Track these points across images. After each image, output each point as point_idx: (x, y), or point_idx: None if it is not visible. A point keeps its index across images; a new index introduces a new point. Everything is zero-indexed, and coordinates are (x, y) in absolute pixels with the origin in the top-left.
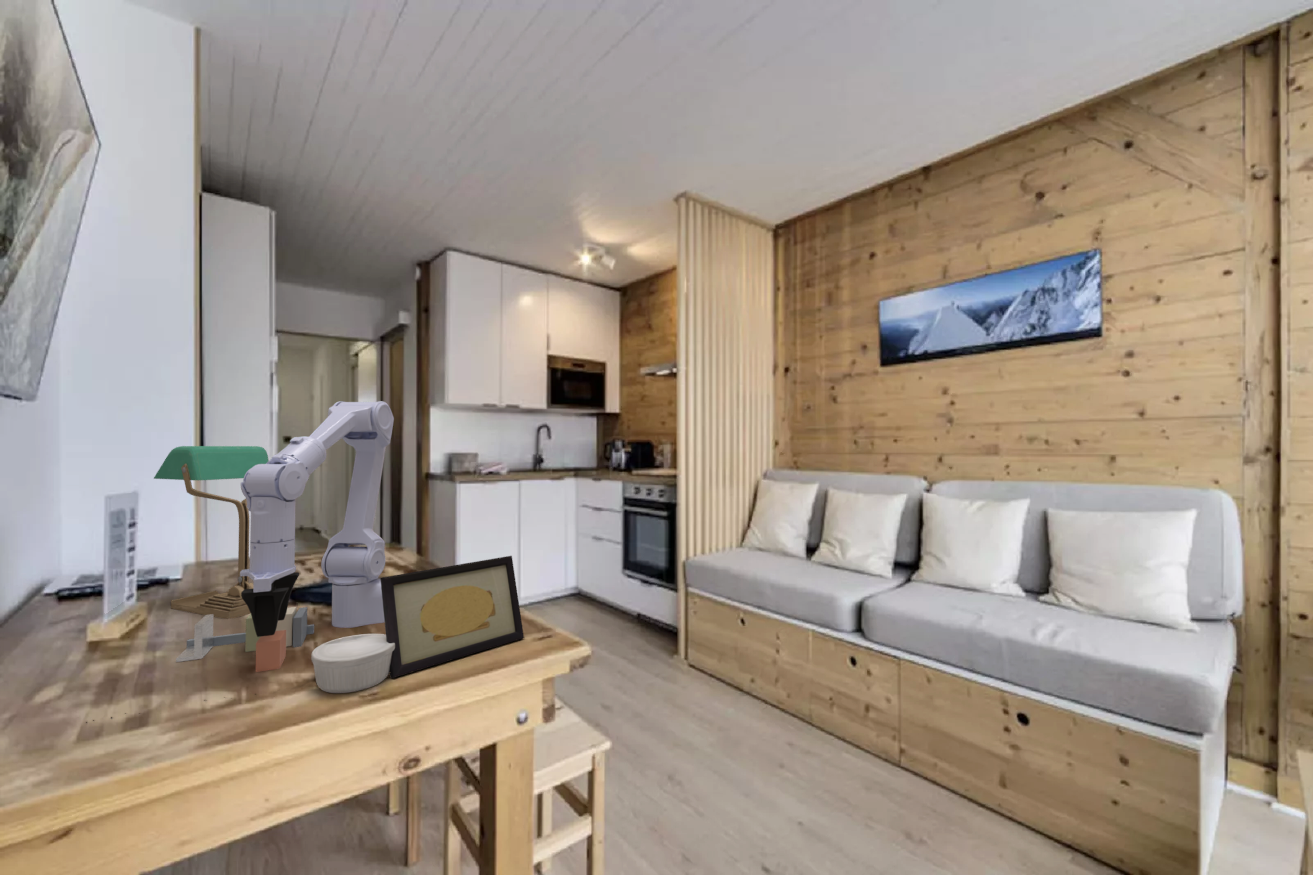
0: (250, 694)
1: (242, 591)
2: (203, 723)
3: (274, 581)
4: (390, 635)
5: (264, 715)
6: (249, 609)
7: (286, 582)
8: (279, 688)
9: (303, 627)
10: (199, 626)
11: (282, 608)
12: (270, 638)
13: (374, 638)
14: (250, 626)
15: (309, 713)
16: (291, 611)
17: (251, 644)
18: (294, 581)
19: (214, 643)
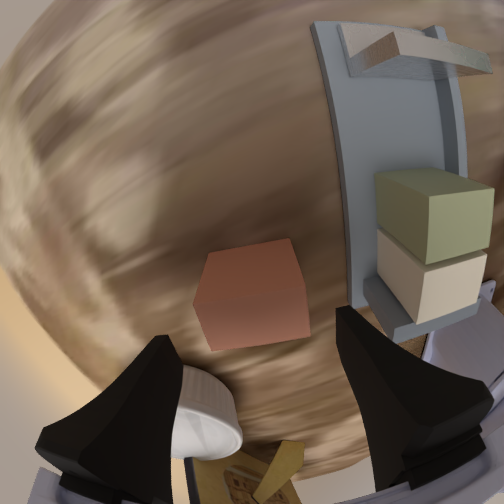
0: (133, 274)
1: (47, 452)
2: (47, 248)
3: (391, 456)
4: (185, 467)
5: (73, 318)
6: (90, 402)
7: (378, 465)
8: (156, 312)
9: None
10: (394, 47)
11: (348, 371)
12: (232, 326)
13: (220, 447)
14: (412, 203)
15: (86, 362)
16: (441, 311)
17: (383, 191)
18: (374, 474)
19: (439, 82)
